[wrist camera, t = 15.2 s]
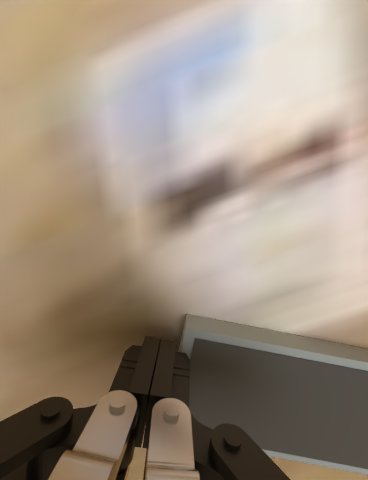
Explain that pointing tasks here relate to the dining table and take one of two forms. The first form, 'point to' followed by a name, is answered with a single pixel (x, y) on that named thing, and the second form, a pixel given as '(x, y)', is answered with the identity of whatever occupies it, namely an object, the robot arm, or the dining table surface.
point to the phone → (281, 391)
